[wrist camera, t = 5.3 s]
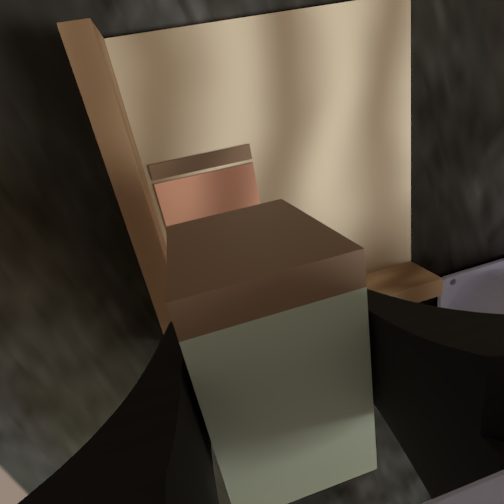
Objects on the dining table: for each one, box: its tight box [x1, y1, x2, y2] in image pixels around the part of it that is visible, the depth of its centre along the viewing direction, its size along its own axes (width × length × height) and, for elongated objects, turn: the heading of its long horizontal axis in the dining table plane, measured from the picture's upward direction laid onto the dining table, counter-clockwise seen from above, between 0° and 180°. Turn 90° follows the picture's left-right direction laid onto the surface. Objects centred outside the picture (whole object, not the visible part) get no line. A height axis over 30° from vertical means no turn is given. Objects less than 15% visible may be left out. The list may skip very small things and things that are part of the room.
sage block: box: [166, 199, 377, 504], centre depth 11 cm, size 8×4×6 cm, turn 10°
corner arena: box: [57, 0, 443, 335], centre depth 18 cm, size 17×17×4 cm
